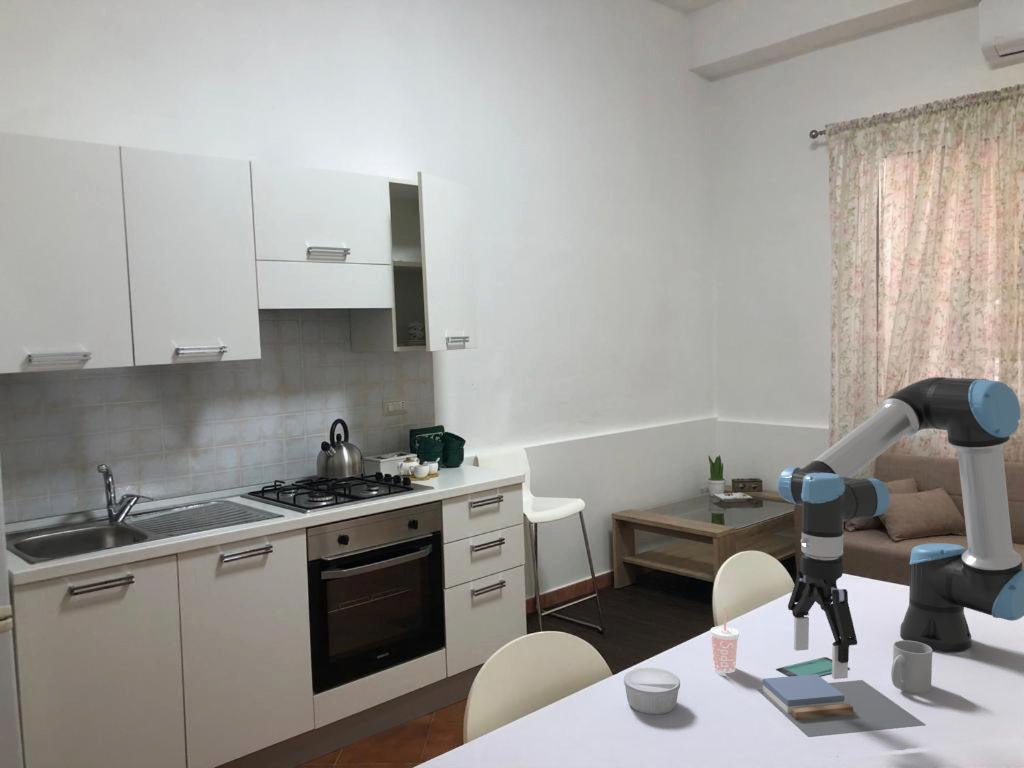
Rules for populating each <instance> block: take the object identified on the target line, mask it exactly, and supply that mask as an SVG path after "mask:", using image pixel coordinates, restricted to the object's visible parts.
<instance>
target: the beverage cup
mask: <svg viewBox="0 0 1024 768" xmlns="http://www.w3.org/2000/svg"><path fill="white" fill-rule="evenodd" d="M710 635H711V643H712V644H711V646H712V665H713V672H714V673H715V674H717V675H720V676H727V674H730V673H734V672H735V671H736V663H737V653H738V652H737V651H738V641H739V640H738V638H739V637H740V631H739V630H738V629H736V628H735V627H731V626H727V608H726V607H725V608H723V625H720V626H718V625H717V626H714V627H711V628H710Z"/></svg>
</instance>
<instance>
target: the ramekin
mask: <svg viewBox="0 0 1024 768" xmlns="http://www.w3.org/2000/svg"><path fill="white" fill-rule="evenodd" d="M623 684H624V687H625V693H626V694H625V695H626V699H627V702H628V705H629V706H630V707H631V708H633V709H634V710H635V711H637V712H639V713H642V714H646V715H647V714H648V715H662V714H663V715H664V714H667V713H669V712H671V711H672V710H673V709H674V708H675V707H676V706H677V702H678V696H679V690H680V688H681V680H680V678H679V677H678V676H677V675H676V674H675V673H673V672H671V671H669V670H666V669H663V668H656V667H639V668H634V669H632V670H629V671H628V672H626V673H625V674H624V678H623Z"/></svg>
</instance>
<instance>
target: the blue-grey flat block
mask: <svg viewBox="0 0 1024 768" xmlns="http://www.w3.org/2000/svg"><path fill="white" fill-rule="evenodd" d="M829 683H830V682H828V681H826V680H825V679H824V678H823V677H822V676H821V677H820V676H819V675H817V674H812V675H800V676H789V677H788V676H778V677H767V678H763V679H762V689H763V691H764V692H765V693H766V694H767V695H768V696H769V697H770V698H772V699H773V700H774V701H775V702H776V703H777V704H778V705H779V706H780V707H782V708H783V709H784V710H785V711H786V712H787V713H791V712H792V709H796V708H806V707H817V706H828V705H838V704H844V694H842V693H841V692H840V691H838V690H837V689H836V688H834V687H833V686H832V685H830V684H829Z"/></svg>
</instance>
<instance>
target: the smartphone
mask: <svg viewBox="0 0 1024 768" xmlns="http://www.w3.org/2000/svg"><path fill="white" fill-rule="evenodd" d="M775 670H776V671H777V672H779V673H781V674H783V675H785V677H789V676H800V675H812V674H817V675H819V676H820V677H821V678H822V677H824V676H829V675H832V658H829V657H827V656H823V657H820V658H816V659H815V658H814V659H811V660H807V661H803V662H799V663H796V664H790V665H786V666H782V667H778V668H775ZM849 670H850V667H849V666H848V671H849Z"/></svg>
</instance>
